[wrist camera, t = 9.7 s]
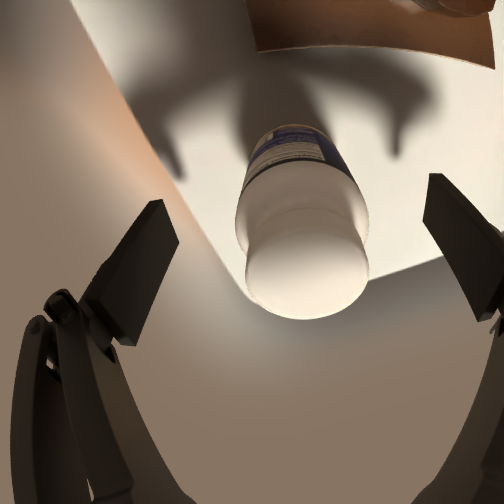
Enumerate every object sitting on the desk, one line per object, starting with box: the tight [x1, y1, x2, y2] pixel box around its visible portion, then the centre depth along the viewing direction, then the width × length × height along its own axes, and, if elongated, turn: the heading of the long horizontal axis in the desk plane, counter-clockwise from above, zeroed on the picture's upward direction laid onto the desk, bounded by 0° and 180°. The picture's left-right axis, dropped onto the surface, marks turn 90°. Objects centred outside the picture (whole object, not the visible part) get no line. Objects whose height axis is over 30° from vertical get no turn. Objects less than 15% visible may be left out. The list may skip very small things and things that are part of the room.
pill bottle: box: [235, 124, 369, 319], centre depth 12 cm, size 5×5×10 cm
